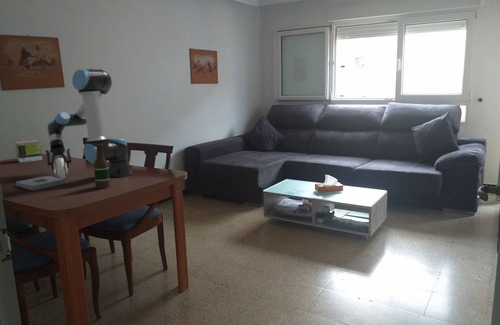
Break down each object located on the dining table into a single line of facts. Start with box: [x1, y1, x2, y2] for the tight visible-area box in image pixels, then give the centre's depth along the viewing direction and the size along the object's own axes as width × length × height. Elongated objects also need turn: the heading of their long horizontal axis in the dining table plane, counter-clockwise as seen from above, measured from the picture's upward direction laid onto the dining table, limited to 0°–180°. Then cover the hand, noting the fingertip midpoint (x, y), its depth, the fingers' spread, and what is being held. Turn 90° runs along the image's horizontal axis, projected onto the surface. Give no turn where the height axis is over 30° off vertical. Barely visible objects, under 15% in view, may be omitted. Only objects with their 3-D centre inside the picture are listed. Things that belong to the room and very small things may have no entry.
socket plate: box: [15, 175, 66, 191], centre depth 219 cm, size 18×18×2 cm
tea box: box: [15, 139, 43, 163], centre depth 291 cm, size 15×10×15 cm
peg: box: [55, 157, 66, 179], centre depth 235 cm, size 4×4×12 cm
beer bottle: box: [93, 144, 111, 190], centre depth 211 cm, size 8×8×24 cm
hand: (61, 172), depth 232 cm, fingers open, 6 cm apart
